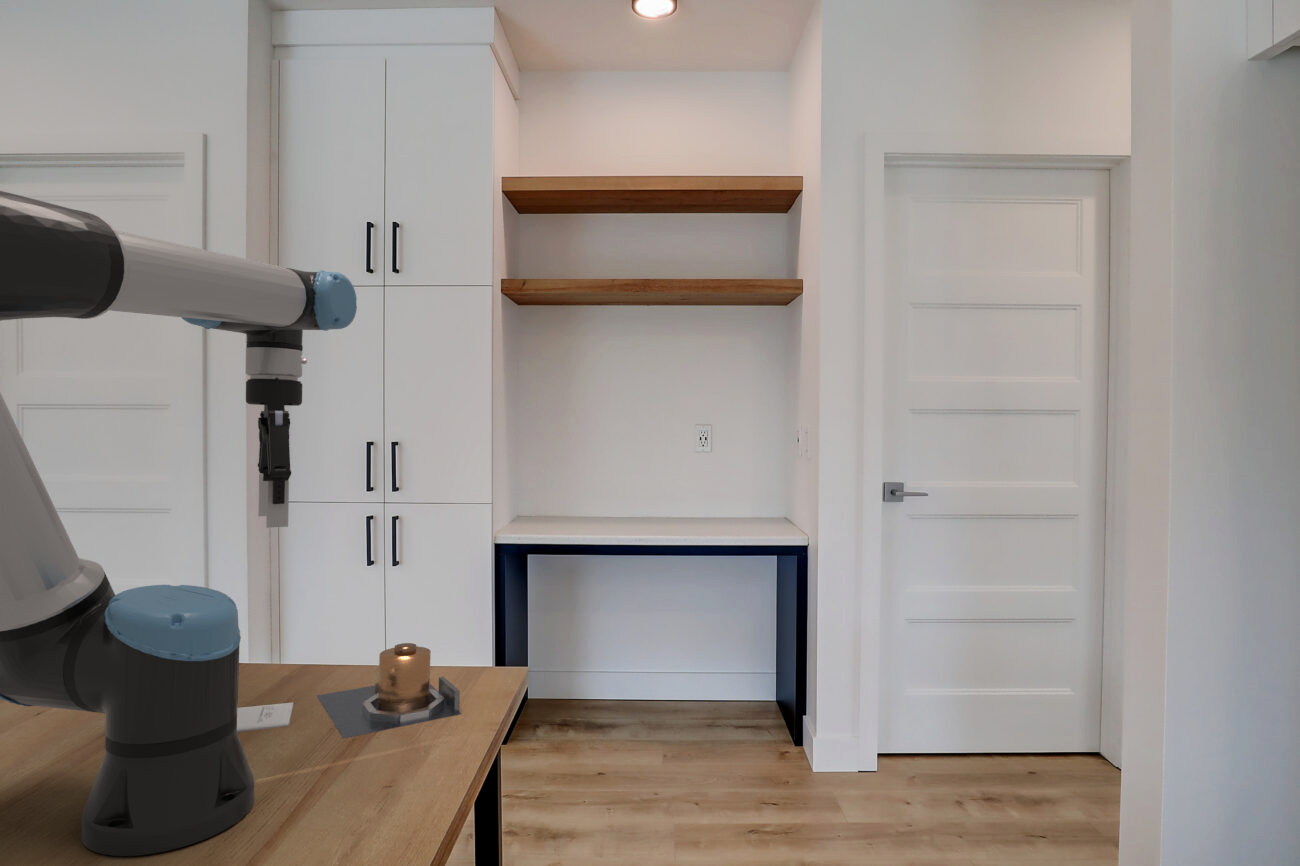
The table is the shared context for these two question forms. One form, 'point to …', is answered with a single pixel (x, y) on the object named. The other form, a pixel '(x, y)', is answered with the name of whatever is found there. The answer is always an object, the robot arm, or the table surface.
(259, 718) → the external hard drive
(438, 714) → the plate
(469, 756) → the table surface
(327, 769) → the table surface
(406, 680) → the copper knobbed cylinder
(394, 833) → the table surface
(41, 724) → the table surface
